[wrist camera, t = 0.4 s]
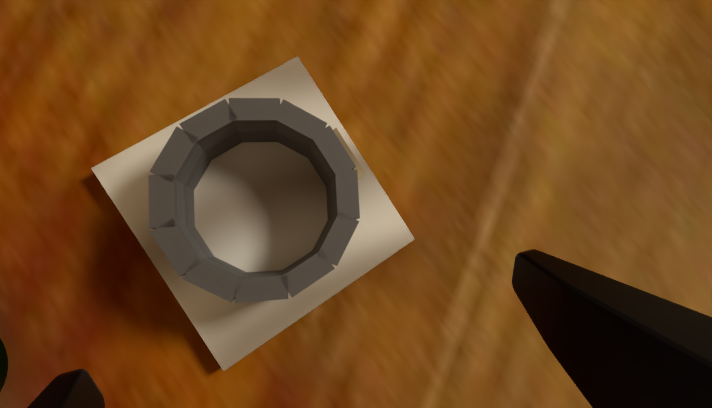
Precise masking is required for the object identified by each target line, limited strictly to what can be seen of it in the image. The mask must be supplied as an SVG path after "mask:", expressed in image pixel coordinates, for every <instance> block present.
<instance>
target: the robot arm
mask: <svg viewBox="0 0 712 408" xmlns="http://www.w3.org/2000/svg"><path fill="white" fill-rule="evenodd" d="M512 285H513V288H514V291H515V293H516V294H517V296H518V298H519V299H520V301H521V303H522V304H523V306H524V308H525V309H526V311H527V313H528V314H529V316H530V318H531V319H532V321H533V323H534V325H535V326H536V328H537V330H538V331H539V333H540V335H541V336H542V338H543V340H544V341H545V343H546V344H547V346H548V347H549V349H550V350H551V352H552V353H553V355H554V356H555V357H556V359H557V360H558V361H559V363H560V364H561V366H562V367H563V368H564V370H565V371H566V372H567V374H568V375H569V376H570V378H571V379H572V380H573V382H574V383H575V384H576V386H577V387H578V388H579V390H580V391H581V393H582V394H583V395H584V397H585V398H586V399H587V401H588V402H589V403H590V405H591V406H592V407H593V408H712V317H710V316H707V315H704V314H702V313H699V312H697V311H694V310H691V309H689V308H686V307H684V306H681V305H679V304H676V303H673V302H671V301H668V300H666V299H663V298H660V297H658V296H655V295H653V294H650V293H647V292H645V291H642V290H640V289H637V288H634V287H632V286H629V285H627V284H624V283H621V282H619V281H616V280H614V279H611V278H608V277H606V276H603V275H601V274H598V273H595V272H593V271H590V270H588V269H585V268H582V267H580V266H577V265H575V264H572V263H569V262H567V261H564V260H562V259H559V258H556V257H554V256H551V255H549V254H546V253H544V252H541V251H538V250H534V249H533V250H528V251H524V252H520V253H518V254H517V255H516V257H515V263H514V270H513V276H512ZM27 408H105V403H104V398H103V395H102V393H101V392H100V390H99V388H98V387H97V385H96V384H95V382H94V381H93V379H92V378H91V376H90V375H89V373H88V372H87V371H86V370H84V369H78V370H74V371H70V372H66V373H62V374H60V375H58V376H57V377H56V378H55V379H53V381H52V382H51V383H50V384H49V385H48V386H47V387H46V388H45V389H44V390H43V391H42V392H41V393H40V394H39V396H38V397H37V398H36V399H35V400H34V401H33V402H32V403H31V404H30V405H29V406H28V407H27Z"/></svg>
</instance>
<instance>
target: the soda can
mask: <svg viewBox="0 0 712 408" xmlns="http://www.w3.org/2000/svg"><path fill="white" fill-rule="evenodd" d="M7 370H8V357H7V353H6V349H5V346H4V344H3V342H2V340H1V339H0V391H1V389H2V387H3V385H4V383H5V380H6V376H7Z"/></svg>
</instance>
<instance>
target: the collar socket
mask: <svg viewBox="0 0 712 408" xmlns="http://www.w3.org/2000/svg"><path fill="white" fill-rule="evenodd" d="M91 169H92V171H93V172H94V174H95V175H96V177H97V178H98V180H99V181H100V183H101V184H102V186H103V187H104V189H105V191H106V192H107V194H108V195H109V197H110V198H111V200H112V201H113V203H114V204H115V206H116V207H117V209H118V210H119V212H120V214H121V215H122V217H123V218H124V220H125V221H126V223H127V224H128V226H129V227H130V229H131V230H132V232H133V233H134V235H135V236H136V238H137V240H138V241H139V243H140V244H141V246H142V247H143V249H144V250H145V252H146V253H147V255H148V256H149V258H150V259H151V261H152V263H153V264H154V266H155V267H156V269H157V270H158V272H159V273H160V275H161V276H162V278H163V279H164V281H165V282H166V284H167V285H168V287H169V289H170V290H171V292H172V293H173V295H174V296H175V298H176V299H177V301H178V302H179V304H180V305H181V307H182V308H183V310H184V312H185V313H186V315H187V316H188V318H189V319H190V321H191V322H192V324H193V325H194V327H195V328H196V330H197V331H198V333H199V334H200V336H201V338H202V339H203V341H204V342H205V344H206V345H207V347H208V348H209V350H210V351H211V353H212V354H213V356H214V357H215V359H216V361H217V362H218V364H219V365H220V367H221V368H222V370H223V371H225V370H226V369H228V368H229V367H230V366H232V365H233V364H235V363H236V362H238V361H239V360H241V359H242V358H243V357H245V356H246V355H248V354H249V353H251V352H252V351H254V350H255V349H257V348H258V347H259V346H261V345H262V344H264V343H265V342H267V341H268V340H270V339H271V338H272V337H274V336H275V335H277V334H278V333H280V332H281V331H283V330H284V329H285V328H287V327H288V326H290V325H291V324H293V323H294V322H296V321H297V320H298V319H300V318H301V317H303V316H304V315H306V314H307V313H309V312H310V311H312V310H313V309H314V308H316V307H317V306H319V305H320V304H322V303H323V302H325V301H326V300H327V299H329V298H330V297H332V296H333V295H335V294H336V293H338V292H339V291H340V290H342V289H343V288H345V287H346V286H348V285H349V284H351V283H352V282H354V281H355V280H356V279H358V278H359V277H361V276H362V275H364V274H365V273H367V272H368V271H369V270H371V269H372V268H374V267H375V266H377V265H378V264H380V263H381V262H382V261H384V260H385V259H387V258H388V257H390V256H391V255H393V254H394V253H395V252H397V251H398V250H400V249H401V248H403V247H404V246H406V245H407V244H409V243H410V242H411V241H413V240H414V239H415V238H414V237H413V235H412V234H411V232H410V231H409V229H408V227H407V226H406V224H405V223H404V221H403V220H402V218H401V217H400V215H399V213H398V212H397V210H396V209H395V207H394V206H393V204H392V203H391V201H390V199H389V198H388V196H387V195H386V193H385V192H384V190H383V188H382V187H381V185H380V184H379V182H378V181H377V179H376V178H375V176H374V174H373V173H372V171H371V170H370V168H369V167H368V165H367V164H366V162H365V160H364V159H363V157H362V156H361V154H360V153H359V151H358V149H357V148H356V146H355V145H354V143H353V142H352V140H351V139H350V137H349V135H348V134H347V132H346V131H345V129H344V128H343V126H342V125H341V123H340V121H339V120H338V118H337V117H336V115H335V114H334V112H333V110H332V109H331V107H330V106H329V104H328V103H327V101H326V100H325V98H324V96H323V95H322V93H321V92H320V90H319V89H318V87H317V86H316V84H315V82H314V81H313V79H312V78H311V76H310V75H309V73H308V71H307V70H306V68H305V67H304V65H303V64H302V62H301V61H300V59H299V57H298V56H297V57H295V58H293V59H292V60H290V61H288V62H286V63H284V64H282V65H281V66H279V67H277V68H275V69H273V70H271V71H270V72H268V73H266V74H264V75H262V76H260V77H259V78H257V79H255V80H253V81H251V82H249V83H247V84H246V85H244V86H242V87H240V88H238V89H236V90H235V91H233V92H231V93H229V94H227V95H225V96H224V97H222V98H220V99H218V100H216V101H214V102H212V103H211V104H209V105H207V106H205V107H203V108H201V109H200V110H198V111H196V112H194V113H192V114H190V115H189V116H187V117H185V118H183V119H181V120H179V121H177V122H176V123H174V124H172V125H170V126H168V127H166V128H165V129H163V130H161V131H159V132H157V133H155V134H154V135H152V136H150V137H148V138H146V139H144V140H143V141H141V142H139V143H137V144H135V145H133V146H131V147H130V148H128V149H126V150H124V151H122V152H120V153H119V154H117V155H115V156H113V157H111V158H109V159H108V160H106V161H104V162H102V163H100V164H98V165H96V166H95V167H93V168H91Z"/></svg>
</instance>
